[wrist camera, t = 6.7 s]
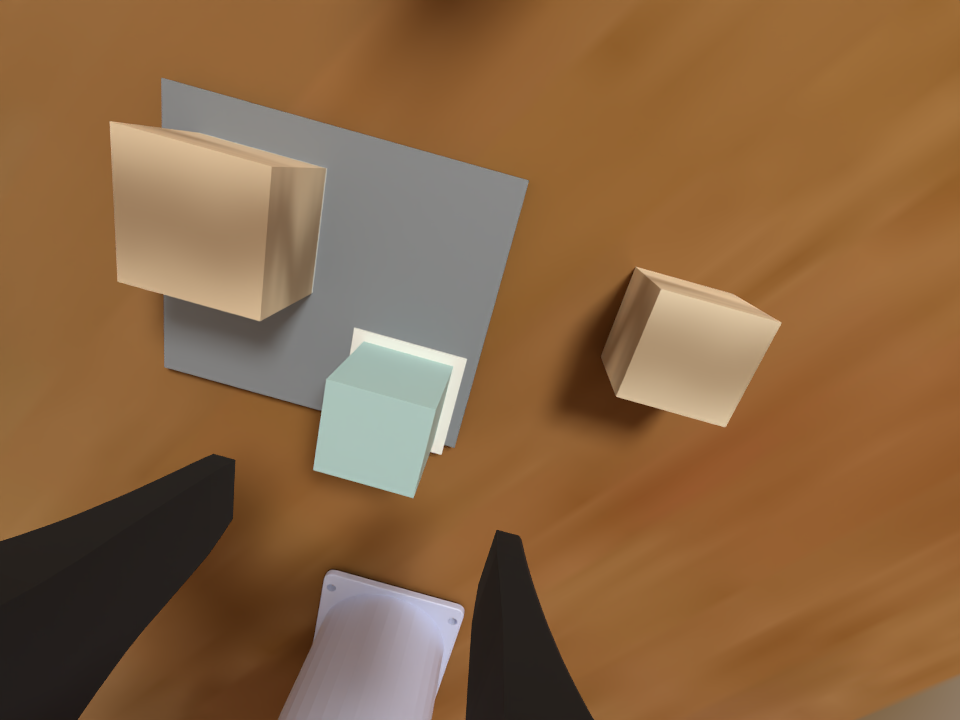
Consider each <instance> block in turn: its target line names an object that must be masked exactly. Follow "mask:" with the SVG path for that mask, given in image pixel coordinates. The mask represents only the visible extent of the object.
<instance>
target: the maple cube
mask: <svg viewBox="0 0 960 720" xmlns="http://www.w3.org/2000/svg"><path fill="white" fill-rule="evenodd" d="M780 325H781V322H780V321H778V320H776V319H774V318H773V317H771V316H769V315H768V314H766V313H764V312H763V311H761V310H759V309H757V308H756V307H754V306H752V305H751V304H749V303H747V302H745V301H744V300H742V299H740V298H739V297H737V296H735V295H734V294H731V293H728V292H724V291H720V290H717V289H713V288H710V287H706V286H703V285H699V284H695V283H692V282H688V281H685V280H681V279H678V278H674V277H670V276H667V275H663V274H660V273H656V272H653V271H649V270H645V269H642V268H638V267H635V270H634V272H633V275H632V277H631V280H630V283H629V285H628V288H627V290H626V293H625V295H624V298H623V300H622V303H621V306H620V308H619V311H618V313H617V316H616V318H615V321H614V324H613V326H612V329H611V331H610V334H609V336H608V339H607V342H606V344H605V347H604V349H603V352H602V354H601V359H602V362H603V364H604V367H605V369H606V372H607V375H608V377H609V380H610V382H611V385H612V388H613V390H614V393H615V395H616V397H619V398H622V399H626V400H630V401H633V402H637V403H640V404H644V405H647V406H651V407H655V408H658V409H662V410H665V411H669V412H673V413H676V414H680V415H683V416H687V417H690V418H694V419H698V420H701V421H705V422H708V423H712V424H715V425H719V426H723V427H726V425H727V423H728V421H729V419H730V418H731V416H732V414H733V412H734V410H735V408H736V406H737V405H738V403H739V401H740V399H741V397H742V395H743V394H744V392H745V390H746V388H747V386H748V384H749V382H750V381H751V379H752V377H753V375H754V373H755V371H756V369H757V368H758V366H759V364H760V362H761V360H762V358H763V356H764V355H765V353H766V351H767V349H768V347H769V345H770V343H771V342H772V340H773V338H774V336H775V334H776V332H777V330H778V329H779V327H780Z"/></svg>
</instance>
